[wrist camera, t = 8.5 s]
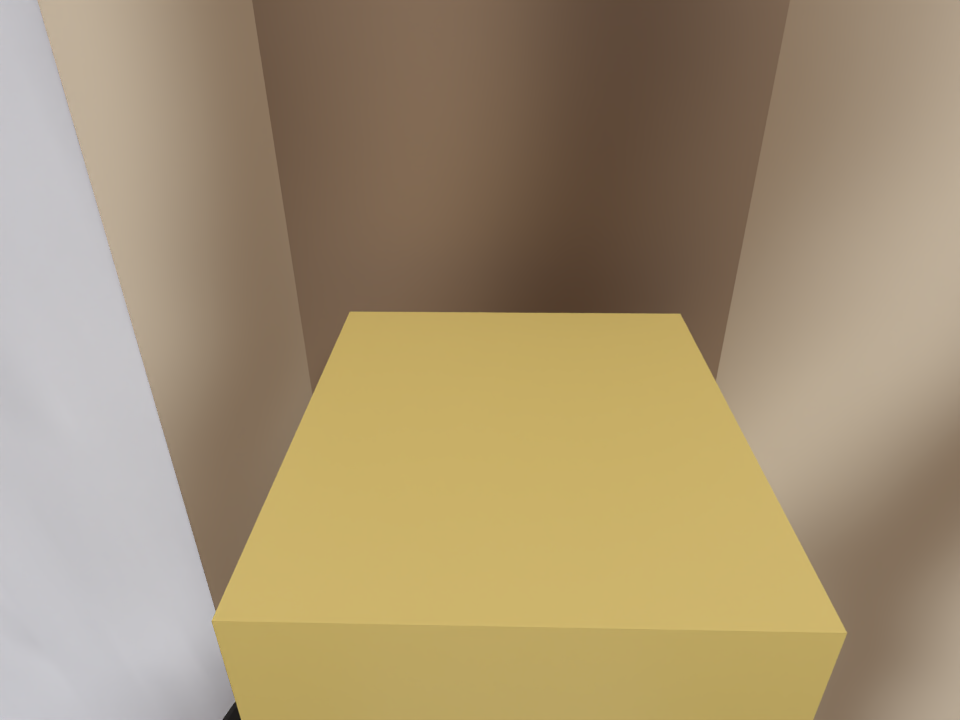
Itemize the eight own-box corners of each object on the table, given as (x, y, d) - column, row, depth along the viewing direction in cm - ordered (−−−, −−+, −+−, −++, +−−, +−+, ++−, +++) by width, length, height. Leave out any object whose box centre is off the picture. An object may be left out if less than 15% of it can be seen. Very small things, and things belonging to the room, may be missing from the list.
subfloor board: (1686, -197, 8) (1771, -209, 7) (1006, 791, 18) (1022, 816, 17) (16, -176, 8) (-17, -186, 8) (276, 773, 18) (270, 797, 18)
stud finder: (680, 313, 9) (868, 672, 4) (616, 723, 13) (676, 1113, 9) (350, 311, 9) (194, 658, 4) (395, 718, 14) (340, 1100, 9)
